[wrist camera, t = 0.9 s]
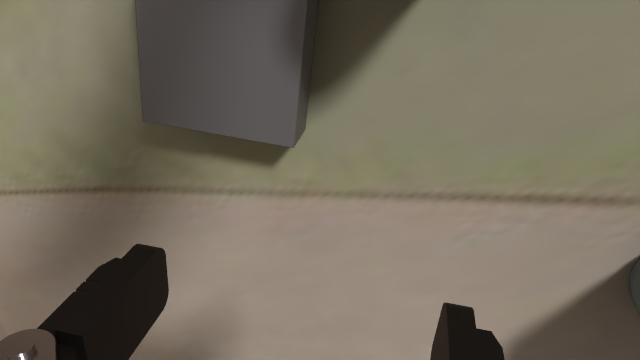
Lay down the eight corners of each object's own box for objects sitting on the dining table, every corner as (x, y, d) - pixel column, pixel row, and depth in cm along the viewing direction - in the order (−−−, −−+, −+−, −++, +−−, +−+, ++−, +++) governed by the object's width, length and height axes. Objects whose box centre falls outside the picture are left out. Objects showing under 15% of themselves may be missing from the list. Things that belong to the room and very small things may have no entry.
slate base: (161, -52, 35) (132, -51, 31) (321, -30, 34) (309, -28, 30) (167, 105, 40) (142, 120, 37) (305, 129, 39) (293, 147, 35)
